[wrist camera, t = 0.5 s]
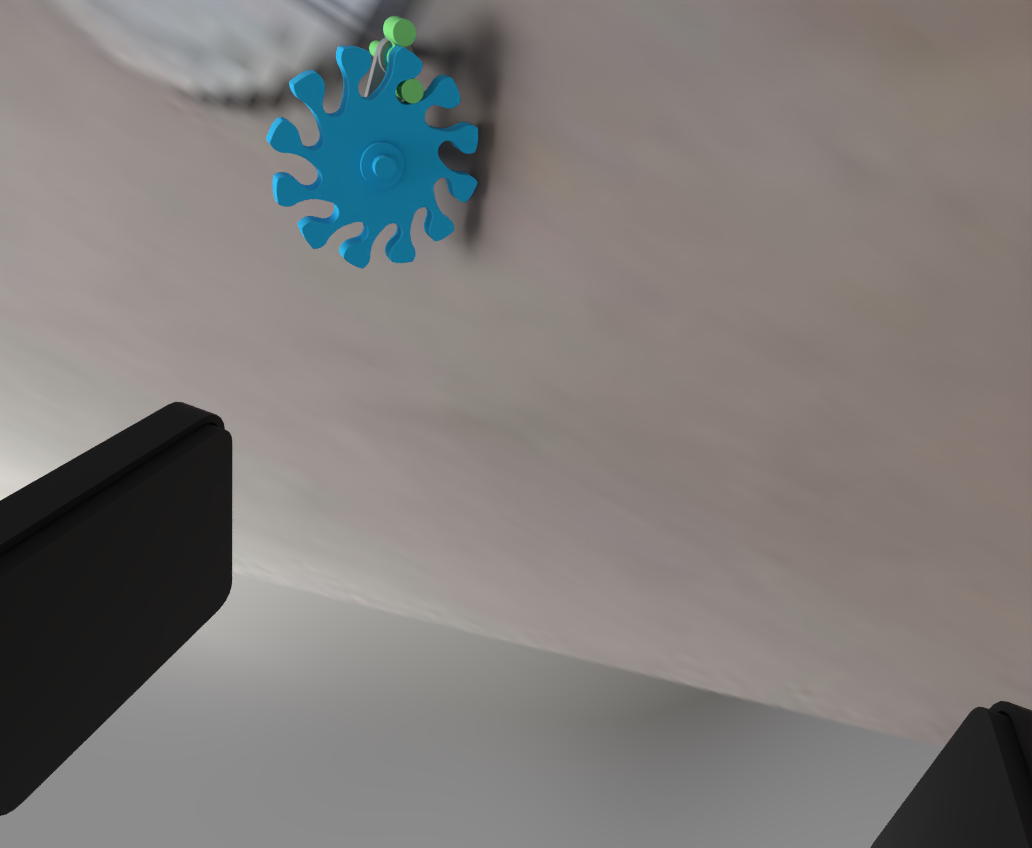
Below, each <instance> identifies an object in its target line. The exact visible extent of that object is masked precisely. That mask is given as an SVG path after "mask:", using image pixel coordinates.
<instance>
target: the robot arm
mask: <svg viewBox="0 0 1032 848" xmlns="http://www.w3.org/2000/svg"><path fill="white" fill-rule="evenodd" d="M231 585H232V436H231V434H230V433H229V432H228V431H227V430H225V428H224V423H223V421H222V419H221V418H220V417H219V416H217V415H216V414H213V413H210V412H207V411H205V410H202V409H199V408H196V407H194V406H191V405H188V404H185V403H183V402H174V403H171V404H169V405H167V406H165V407H163V408H162V409H160V410H158V411H156V412H155V413H153V414H151V415H149V416H148V417H146V418H144V419H142V420H141V421H139V422H137V423H135V424H134V425H132V426H130V427H128V428H127V429H125V430H123V431H121V432H120V433H118V434H116V435H114V436H113V437H111V438H109V439H107V440H106V441H104V442H102V443H100V444H99V445H97V446H95V447H93V448H92V449H90V450H88V451H86V452H85V453H83V454H81V455H79V456H78V457H76V458H74V459H72V460H71V461H69V462H67V463H65V464H64V465H62V466H60V467H58V468H57V469H55V470H53V471H51V472H50V473H48V474H46V475H44V476H43V477H41V478H39V479H37V480H36V481H34V482H32V483H30V484H29V485H27V486H25V487H23V488H22V489H20V490H18V491H16V492H15V493H13V494H11V495H9V496H8V497H6V498H4V499H2V500H1V501H0V816H1V815H5V814H7V813H9V812H11V811H13V810H14V809H15V808H16V807H18V806H19V805H20V804H21V803H22V802H23V801H24V800H26V798H28V796H30V795H31V794H32V793H33V791H35V790H36V788H38V787H39V786H40V785H41V784H42V783H43V782H44V781H45V780H46V779H47V778H48V777H49V776H50V775H51V774H52V773H53V772H54V771H55V770H56V769H57V768H58V767H59V766H60V765H61V764H62V763H63V762H64V761H65V760H66V759H67V758H68V757H69V756H70V755H71V754H72V753H73V752H74V751H75V750H76V749H78V747H79V746H80V745H82V744H83V742H84V741H86V740H87V739H88V738H89V737H90V736H91V735H92V734H93V733H94V732H95V731H96V730H97V729H98V728H99V727H100V726H101V725H102V724H103V723H104V722H105V721H106V720H107V719H108V718H109V717H110V716H111V715H112V714H113V713H114V712H115V711H116V710H117V709H118V708H119V707H120V706H121V705H122V704H123V703H124V702H125V701H126V700H127V699H128V698H129V697H130V696H132V695H133V694H134V692H136V690H138V689H139V688H140V687H141V686H142V685H143V684H144V683H145V682H146V681H147V680H148V679H149V678H150V677H151V676H152V675H153V674H154V673H155V672H156V671H157V670H158V669H159V668H160V667H161V666H162V665H163V664H164V663H165V662H166V661H167V660H168V659H169V658H170V657H171V656H172V655H173V654H174V653H175V652H176V651H177V650H178V649H179V648H180V647H181V646H182V645H183V644H184V643H185V642H187V641H188V640H189V639H190V637H192V635H194V634H195V633H196V632H197V630H199V629H200V628H201V627H202V625H204V624H205V623H206V622H207V621H208V620H209V619H210V618H211V617H212V616H213V615H214V614H215V613H216V612H217V611H218V610H219V609H220V608H221V606H222V605H223V604H224V602H225V601H226V599H227V597H228V595H229V593H230V590H231ZM871 848H1032V710H1029V709H1026V708H1023V707H1021V706H1018V705H1015V704H1012V703H1009V702H1005V701H1000V702H998V703H996V704H994V705H993V706H992V707H991V708H990V709H987V708H984V707H977V708H975V709H973V710H972V711H971V712H970V713H969V715H968V716H967V717H966V719H965V720H964V721H963V723H962V724H961V725H960V727H959V728H958V729H957V731H956V732H955V734H954V735H953V736H952V738H951V739H950V740H949V742H948V743H947V744H946V746H945V747H944V748H943V750H942V751H941V752H940V754H939V755H938V756H937V758H936V759H935V761H934V762H933V763H932V765H931V766H930V767H929V769H928V770H927V771H926V773H925V774H924V776H923V777H922V778H921V779H920V781H919V782H918V783H917V785H916V786H915V788H914V789H913V790H912V792H911V793H910V794H909V796H908V797H907V798H906V800H905V801H904V802H903V804H902V805H901V806H900V808H899V809H898V810H897V812H896V813H895V815H894V816H893V817H892V819H891V820H890V821H889V823H888V824H887V825H886V827H885V828H884V829H883V831H882V832H881V833H880V835H879V836H878V837H877V839H876V840H875V842H874V843H873V845H872V846H871Z"/></svg>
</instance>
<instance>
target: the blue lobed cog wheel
mask: <svg viewBox="0 0 1032 848" xmlns="http://www.w3.org/2000/svg"><path fill="white" fill-rule="evenodd" d="M383 31H384V35H385V38H383V39H382V40H381V41H377V40H375V41H373V42H372V43H371V44H370V47H369V50H370V52H369V51H367V50H365V49H362V48H360V47H356V46H339V47H338V49H337V52H336V59H337V63H338V65H339V67H340V69H341V72H342V76H343V82H344V90H343V97H342V101H341V105H340V108H339V109H338V110H337V111H336V112H335V113H331V114H328V113H325V111H324V109H323V105H322V103H323V97H324V93H325V84H324V81H323V79H322V77H321V76H320V75H319V74H318V73H316V72H315V71H313V70H308V71H305V72H302V73H301V74H299V75H297V76H296V77H294V78H293V79H292V80H291V81H289V82H290V88H291V91H292V92H293V94H294V95H295V96H296V97H297V98H299V99H300V100H301V101H303V102H304V103H305V104H306V105H307V106H308V107H309V109H310V110H311V111H312V113H313V115H314V117H315V119H316V122H317V125H318V129H319V133H320V138H319V140H318V142H317V143H316V144H315V145H313V146H310V147H307V146H304V145H302V142H301V139H300V136H299V133H298V130H297V129H296V127H295V126H294V125H293V124H292V123H291V122H290V121H289V120H287V119H285V118H283V117H278V118H277V119H276V120H275V121H274V123H273V124H272V126H271V128H270V130H269V132H268V135H267V138H266V140H267V141H268V143H269V144H270V145H271V146H272V147H273V148H274V149H275V150H277V151H279V152H282V153H292V154H296V155H299V156H301V157H303V158H305V159H307V160H308V161H309V162H311V163H312V164H313V165H314V166H315V167H316V169H317V172H318V177H317V180H316V181H315V182H314V183H313V184H311V185H302V184H300V183H299V182H298V181H297V180H296V179H295V178H294V177H293V176H291V175H290V174H288V173H285V172H279V173H276V174H274V178H273V193H274V198H275V200H276V201H277V203H278V204H279V205H281V206H285V207H288V206H293V205H295V204H296V203H298V202H301V201H304V200H308V199H320V200H325V201H329V202H332V203H334V212H333V214H332V215H331V216H330V217H328V218H318V217H314V216H307V217H304V218H302V219H301V220H300V221H299V222H298V227H299V229H300V231H301V233H302V235H303V236H304V238H305V239H306V240H307V242H308V243H309V244H310V245H311V247H312V248H313V249H318V248H321V247H322V246H324V245H325V244H326V242H327V240H328V239H329V237H330V236H331V235H332V234H333V233H334V232H335V231H336V230H337V229H339V228H341V227H342V226H345V225H347V224H351V223H354V222H363V225H364V228H363V231H362V233H361V234H360V235H359V236H357V237H354V238H351V239H348V240H346V241H344V242H343V243H342V245H341V246H340V249H339V253H340V254H341V255H342V256H343V258H344V259H345V260H346V261H347V262H349V263H350V264H352V265H354V266H357V267H359V268H362V269H363V268H364V267H366V265H367V264H368V263H369V260H370V252H371V247H372V244H373V242H374V240H375V238H376V237H377V235H378V234H379V233H380V232H381V231H382V230H383V229H384V228H385V226H387V225H388V224H391V223H395V224H397V231H396V233H395V235H394V236H393V237H392V238H391V239H390V240H389V241H388V242H387V244H386V247H385V253H386V255H387V257H388V258H389V259H390V260H391V261H392V262H395V263H407V262H412V261H413V260H414V258H415V249H414V247H413V245H412V242H411V237H410V228H411V223H412V219H413V216H414V213H415V212H416V210H418V209H419V208H422V207H426V209H427V215H426V219H425V222H424V230H425V232H426V233H427V235H428V236H430V237H431V238H432V239H433V240H434V241H439V240H441V239H443V238H445V237H447V236H448V235H449V234H451V233H452V232H453V231H454V225H453V223H452V221H451V220H450V219H449V218H448V217H446V216H445V215H444V214H442V212H441V211H440V210H439V208H438V206H437V204H436V200H435V196H434V191H433V187H434V184H435V182H436V181H437V180H438V179H440V178H446V181H447V186H448V190H449V192H450V194H451V195H452V196H454V197H455V198H456V199H458V200H459V201H461V202H466V201H467V200H468V199H469V198H470V197H471V195H472V194H473V192H474V190H475V188H476V186H477V184H478V183H477V181H476V180H475V178H473V177H472V176H470V175H469V174H467V173H466V172H463V171H454V170H451V169H449V168H447V167H446V166H445V165H444V163H443V162H442V161H441V160H440V158H439V156H438V148H439V146H440V145H441V144H442V143H443V142H444V141H450V142H451V143H452V144H453V146H454V147H455V148H457V149H459V150H460V151H462V152H464V153H466V154H471V153H474V152H475V151H476V148H477V144H478V128H477V127H475V126H474V125H472V124H470V123H467V122H460V123H458V124H456V125H454V126H451V127H448V128H436V127H432V126H429V125H427V124H426V122H425V112H426V110H427V109H428V108H429V107H430V106H432V105H439V106H441V107H444V108H454V107H456V106H457V105H458V104H459V103H460V101H461V100H460V94H459V91H458V88H457V86H456V84H455V82H454V81H453V79H452V78H451V77H449V76H446V75H440V76H437V77H436V78H435V79H434V80H433V81H432V83H431V84H430V86H429V87H428V88H427V90H426V91H425V92H424V89H423V86H422V84H421V82H420V81H418V80H417V79H414V78H415V77H416V76H417V75H418V74H419V73H420V71H421V69H422V65H423V63H422V62H421V60H420V59H419V58H418V57H417V56H416V55H415V54H414V52H413V49H412V47H411V44H412V43H413V42H414V40H415V38H416V29H415V27H414V25H413V23H412V22H410V21H409V20H406V19H403V18H400V17H396V16H392V17H389V18H388V19H387V20H386V21H385V23H384V26H383ZM370 53H371V55H372V56H374V59H373V63H372V67H371V71H370V75H369V79H368V83H367V87H366V91H365V95H364V97H361V96H360V94H359V92H358V83H359V81H360V79H361V78H362V77H363V76H364V75H365V74H366V73H367V71H368V70H369V68H370V66H371V55H370ZM402 99H403V100H405V101H403V102H401V101H402Z"/></svg>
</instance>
